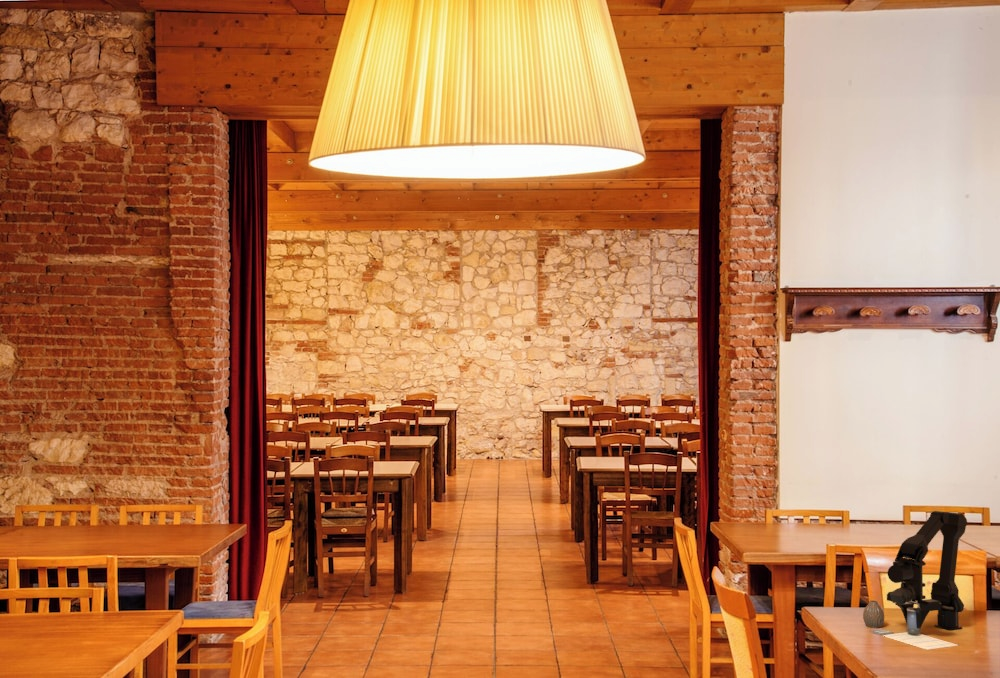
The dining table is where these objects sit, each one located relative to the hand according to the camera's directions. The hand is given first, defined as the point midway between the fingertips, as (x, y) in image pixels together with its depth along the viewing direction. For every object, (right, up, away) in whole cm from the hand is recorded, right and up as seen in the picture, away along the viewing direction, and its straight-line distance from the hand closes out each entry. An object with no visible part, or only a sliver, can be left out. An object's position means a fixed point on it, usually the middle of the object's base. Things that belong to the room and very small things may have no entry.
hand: (913, 626), depth 347 cm
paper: (-1, -3, -7) cm, 8 cm away
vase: (-9, -4, +12) cm, 16 cm away
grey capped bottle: (0, -2, 0) cm, 2 cm away
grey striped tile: (-9, -3, +3) cm, 10 cm away
